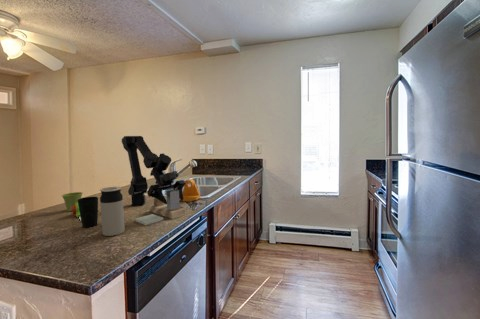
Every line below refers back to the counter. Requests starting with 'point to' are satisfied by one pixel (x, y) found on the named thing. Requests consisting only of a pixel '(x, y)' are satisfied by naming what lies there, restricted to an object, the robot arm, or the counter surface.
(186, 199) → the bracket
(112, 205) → the travel mug
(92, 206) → the cup
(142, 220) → the sage mat
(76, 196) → the plant pot
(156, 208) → the body
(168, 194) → the lever cap
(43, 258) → the counter surface
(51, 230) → the counter surface
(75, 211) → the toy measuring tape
